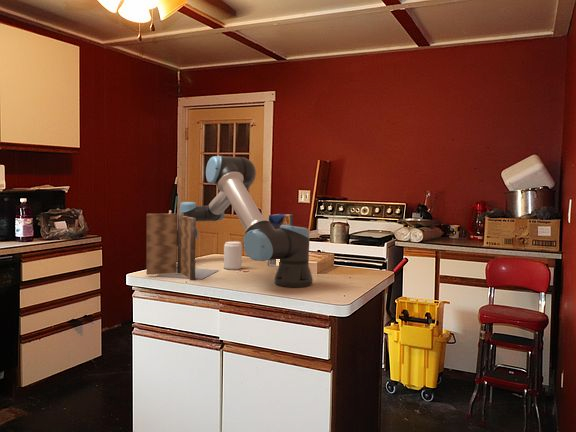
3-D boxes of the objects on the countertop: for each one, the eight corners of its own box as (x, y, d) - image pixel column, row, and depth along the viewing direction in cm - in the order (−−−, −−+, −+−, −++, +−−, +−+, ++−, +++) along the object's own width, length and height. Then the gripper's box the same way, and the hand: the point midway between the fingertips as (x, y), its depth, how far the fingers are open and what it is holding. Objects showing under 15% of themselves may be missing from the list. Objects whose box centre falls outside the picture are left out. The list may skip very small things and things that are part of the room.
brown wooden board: (175, 272, 221) (176, 213, 219) (176, 272, 220) (177, 213, 218) (146, 274, 215) (146, 213, 213) (147, 274, 214) (147, 214, 212)
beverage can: (220, 268, 238) (220, 242, 237) (234, 266, 243) (235, 240, 242) (230, 270, 232) (231, 244, 231) (245, 268, 237) (245, 242, 236)
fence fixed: (176, 273, 222) (176, 212, 220) (181, 273, 223) (182, 212, 221) (190, 280, 209) (191, 215, 207) (196, 279, 210) (197, 215, 208)
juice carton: (282, 267, 244) (283, 216, 242) (267, 265, 247) (268, 215, 245) (291, 263, 255) (292, 214, 254) (277, 261, 258) (278, 213, 256)
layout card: (218, 270, 230) (218, 269, 230) (202, 279, 211) (202, 278, 211) (176, 268, 234) (176, 267, 234) (156, 276, 215) (156, 275, 215)
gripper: (192, 246, 238) (170, 253, 215) (165, 244, 241) (140, 251, 218) (193, 229, 238) (170, 235, 215) (165, 228, 241) (140, 233, 218)
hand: (155, 243), depth 216 cm, fingers closed
